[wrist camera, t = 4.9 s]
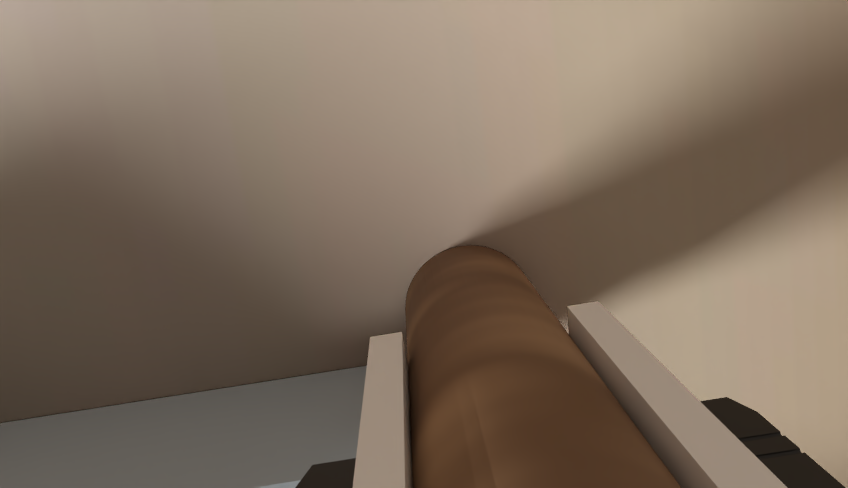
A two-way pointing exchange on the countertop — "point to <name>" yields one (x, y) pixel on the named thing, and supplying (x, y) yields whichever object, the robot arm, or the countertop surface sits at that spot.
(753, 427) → the robot arm
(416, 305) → the peg
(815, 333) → the countertop surface
